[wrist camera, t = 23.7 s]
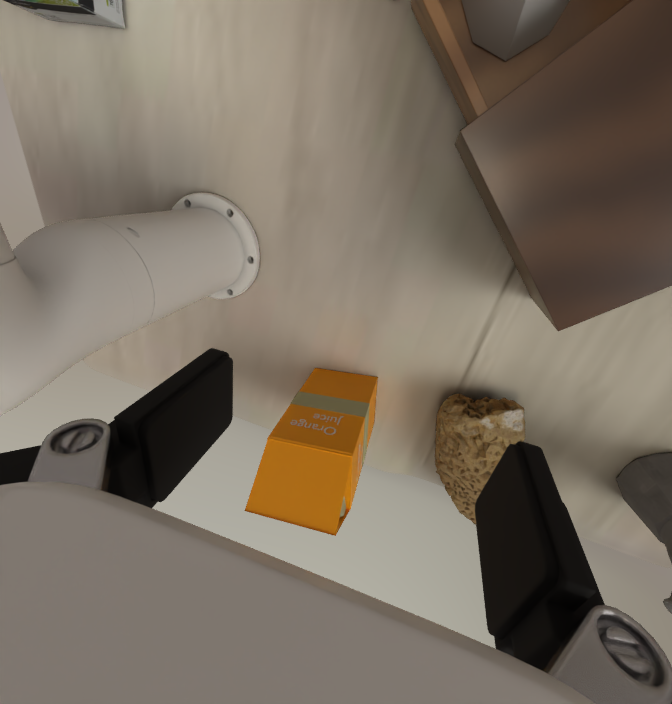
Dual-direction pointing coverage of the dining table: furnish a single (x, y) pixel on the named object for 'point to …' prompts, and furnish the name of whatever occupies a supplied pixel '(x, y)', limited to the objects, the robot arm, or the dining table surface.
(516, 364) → the dining table surface
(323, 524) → the orange juice
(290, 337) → the dining table surface
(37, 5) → the tea box
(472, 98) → the drawer
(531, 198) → the cabinet
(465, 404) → the sponge
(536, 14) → the flask
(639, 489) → the coffeepot
